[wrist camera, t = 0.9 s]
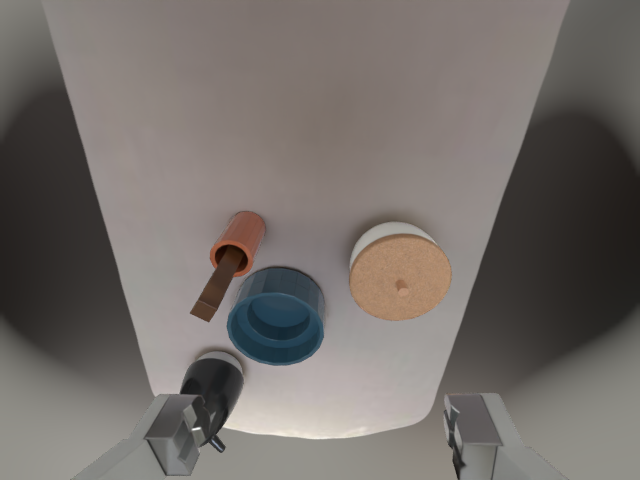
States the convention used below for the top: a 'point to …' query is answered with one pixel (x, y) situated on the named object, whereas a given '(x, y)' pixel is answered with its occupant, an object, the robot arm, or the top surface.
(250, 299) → the mixing bowl
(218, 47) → the top surface
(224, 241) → the pot
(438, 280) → the lidded bowl
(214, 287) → the stirring stick
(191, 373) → the black rounded egg shape
